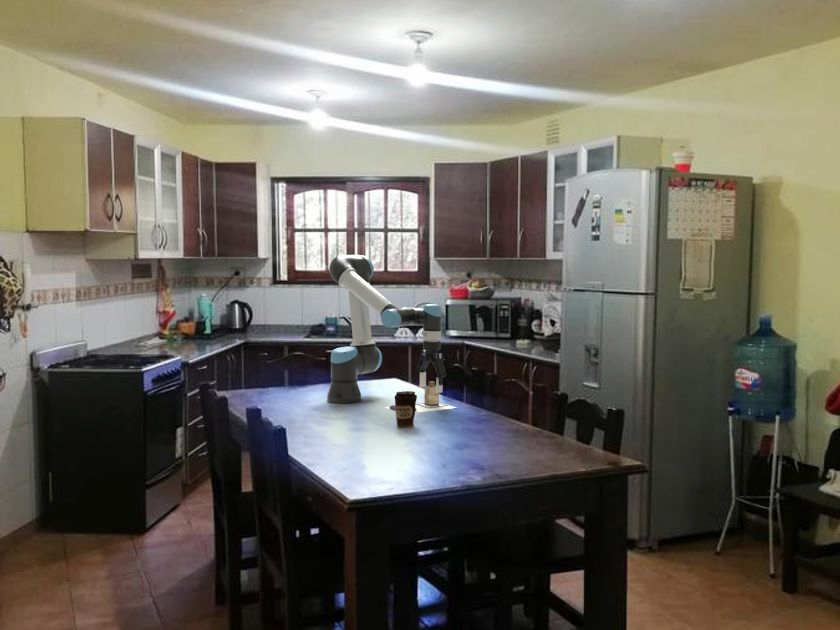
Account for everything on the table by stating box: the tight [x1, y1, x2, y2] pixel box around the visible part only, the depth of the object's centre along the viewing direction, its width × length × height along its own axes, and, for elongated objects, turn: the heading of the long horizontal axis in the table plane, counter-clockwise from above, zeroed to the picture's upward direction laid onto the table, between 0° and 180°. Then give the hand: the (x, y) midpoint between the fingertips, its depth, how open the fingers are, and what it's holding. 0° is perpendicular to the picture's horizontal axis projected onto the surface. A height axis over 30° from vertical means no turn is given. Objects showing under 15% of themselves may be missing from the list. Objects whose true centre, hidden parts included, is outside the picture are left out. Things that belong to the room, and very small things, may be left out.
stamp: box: [424, 381, 440, 406], centre depth 327 cm, size 4×4×10 cm
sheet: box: [383, 402, 457, 414], centre depth 322 cm, size 17×26×1 cm, turn 121°
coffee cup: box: [394, 390, 418, 428], centre depth 286 cm, size 9×8×13 cm
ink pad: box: [389, 404, 416, 412], centre depth 316 cm, size 10×7×2 cm
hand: (430, 389), depth 327 cm, fingers open, 13 cm apart
